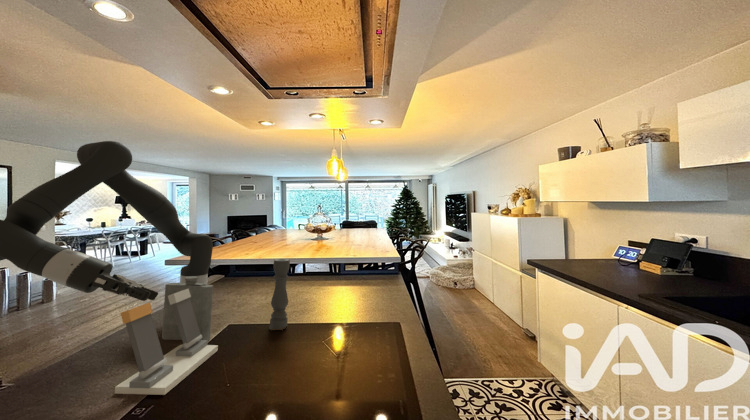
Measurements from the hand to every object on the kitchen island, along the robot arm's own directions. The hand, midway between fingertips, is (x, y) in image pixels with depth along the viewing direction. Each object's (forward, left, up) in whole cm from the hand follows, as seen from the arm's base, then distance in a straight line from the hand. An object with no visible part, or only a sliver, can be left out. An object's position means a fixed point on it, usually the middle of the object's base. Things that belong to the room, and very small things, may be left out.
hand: (152, 296), depth 71 cm
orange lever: (+5, -1, -15) cm, 16 cm away
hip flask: (-15, +17, -20) cm, 30 cm away
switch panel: (+2, +5, -19) cm, 20 cm away
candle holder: (+2, +40, -20) cm, 45 cm away
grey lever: (-2, +12, -15) cm, 20 cm away
